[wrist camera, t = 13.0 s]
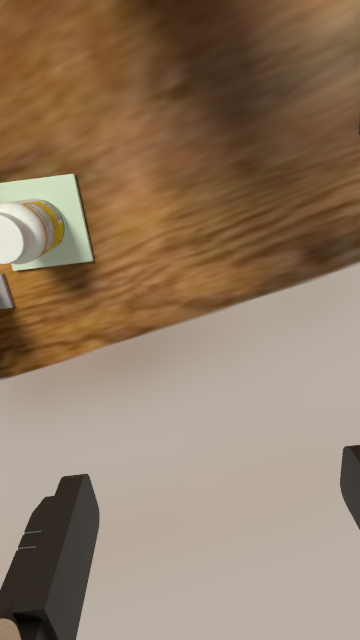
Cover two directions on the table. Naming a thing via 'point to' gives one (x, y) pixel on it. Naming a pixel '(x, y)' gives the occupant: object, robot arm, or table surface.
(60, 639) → the robot arm
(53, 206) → the supplement bottle
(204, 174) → the table surface
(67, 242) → the pad
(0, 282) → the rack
